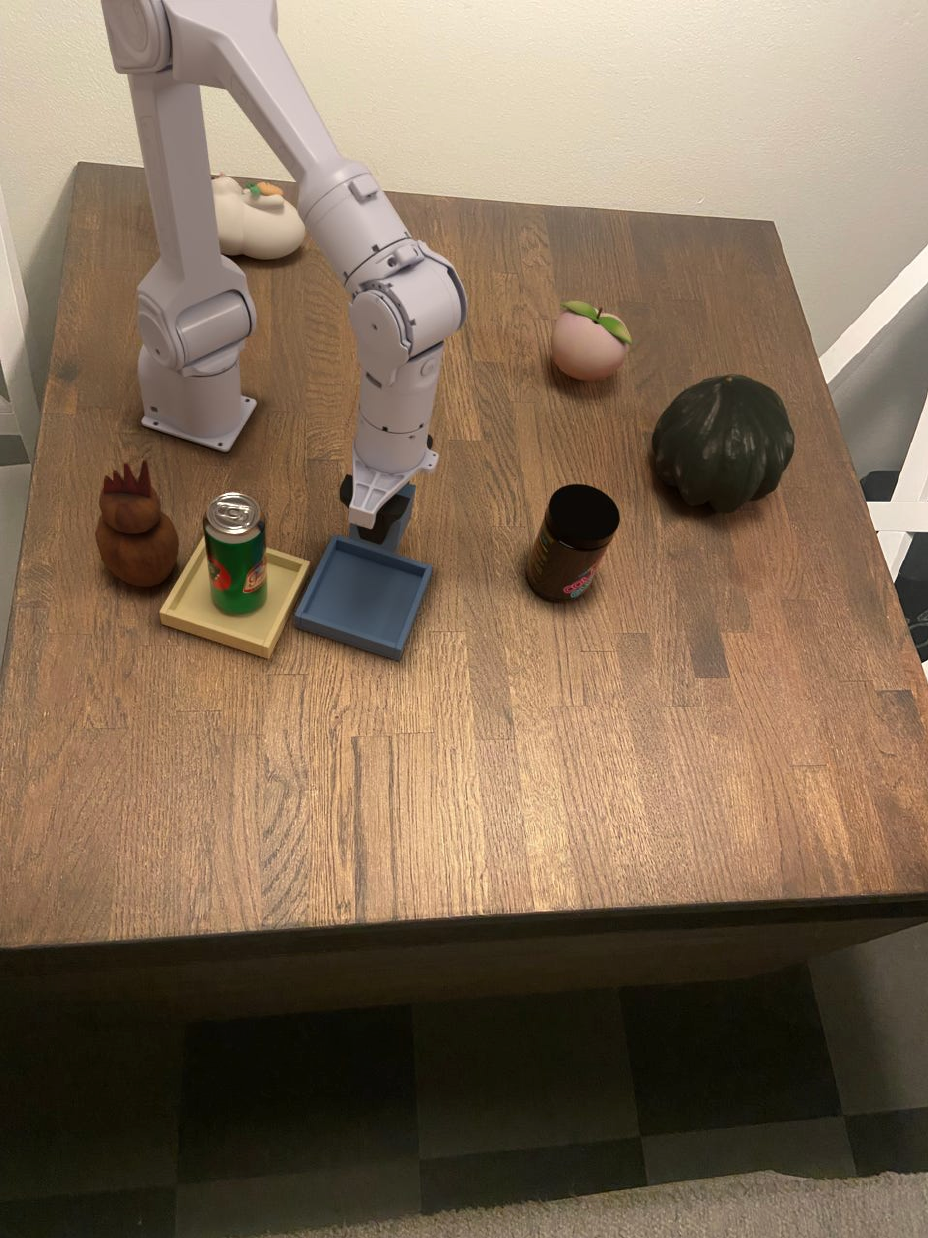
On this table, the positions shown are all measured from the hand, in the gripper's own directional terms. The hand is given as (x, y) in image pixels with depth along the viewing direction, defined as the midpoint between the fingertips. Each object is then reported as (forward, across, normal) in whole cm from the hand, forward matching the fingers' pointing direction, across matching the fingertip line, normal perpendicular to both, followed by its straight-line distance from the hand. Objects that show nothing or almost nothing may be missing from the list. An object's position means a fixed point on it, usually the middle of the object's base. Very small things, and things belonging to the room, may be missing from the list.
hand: (380, 518), depth 82 cm
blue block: (+1, 0, 0) cm, 1 cm away
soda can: (+8, -7, +11) cm, 15 cm away
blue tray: (+8, -3, 0) cm, 9 cm away
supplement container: (+9, +6, -17) cm, 20 cm away
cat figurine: (+8, +41, +30) cm, 52 cm away
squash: (+9, +26, -30) cm, 41 cm away
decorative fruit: (+9, +36, -14) cm, 40 cm away
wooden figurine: (+9, -8, +20) cm, 23 cm away
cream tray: (+8, -7, +11) cm, 15 cm away
